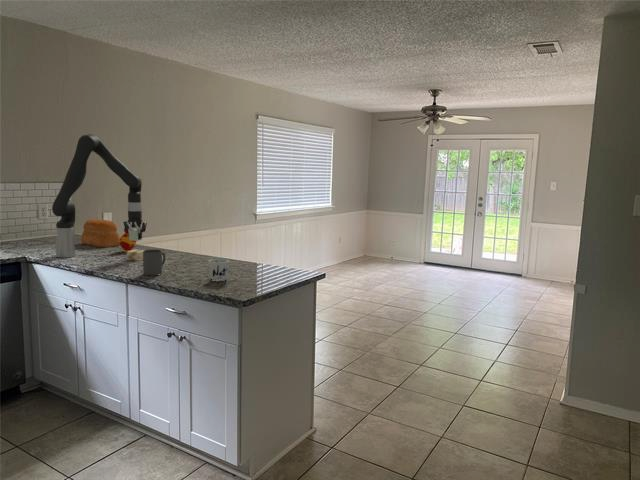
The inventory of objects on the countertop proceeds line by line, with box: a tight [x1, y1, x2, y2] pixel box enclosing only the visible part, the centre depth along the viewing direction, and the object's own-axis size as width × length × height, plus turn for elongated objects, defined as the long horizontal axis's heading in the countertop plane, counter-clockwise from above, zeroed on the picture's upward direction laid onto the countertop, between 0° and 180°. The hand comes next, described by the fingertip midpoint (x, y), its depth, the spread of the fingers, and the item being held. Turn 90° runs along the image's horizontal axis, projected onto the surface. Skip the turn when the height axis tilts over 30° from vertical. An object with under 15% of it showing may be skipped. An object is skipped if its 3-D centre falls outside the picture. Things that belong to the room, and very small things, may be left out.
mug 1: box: [142, 249, 166, 276], centre depth 253 cm, size 14×9×12 cm
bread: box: [80, 218, 121, 248], centre depth 333 cm, size 16×26×17 cm, turn 57°
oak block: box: [126, 249, 145, 262], centre depth 289 cm, size 8×8×5 cm
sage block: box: [129, 228, 143, 242], centre depth 287 cm, size 5×5×6 cm
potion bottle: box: [119, 227, 137, 253], centre depth 310 cm, size 10×10×15 cm
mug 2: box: [207, 258, 231, 280], centre depth 244 cm, size 10×15×10 cm
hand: (135, 238), depth 287 cm, fingers closed on sage block, 5 cm apart
